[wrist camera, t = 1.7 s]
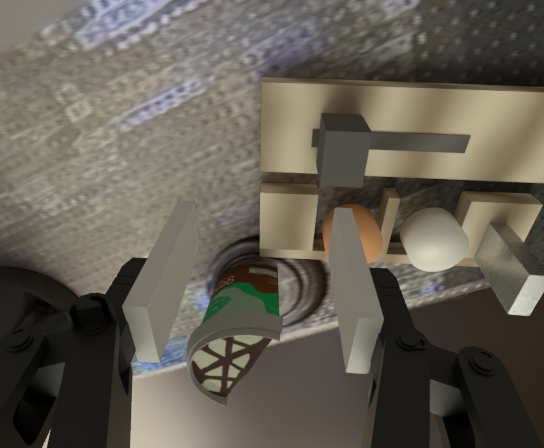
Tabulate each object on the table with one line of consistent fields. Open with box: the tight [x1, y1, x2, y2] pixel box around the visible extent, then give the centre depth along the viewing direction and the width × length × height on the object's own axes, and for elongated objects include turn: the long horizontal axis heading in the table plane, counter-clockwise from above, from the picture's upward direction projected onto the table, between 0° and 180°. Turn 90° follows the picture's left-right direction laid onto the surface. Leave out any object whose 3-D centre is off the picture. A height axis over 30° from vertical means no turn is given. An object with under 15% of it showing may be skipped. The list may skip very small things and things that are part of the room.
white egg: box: [400, 207, 469, 272], centre depth 30 cm, size 5×5×3 cm
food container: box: [187, 264, 283, 406], centre depth 35 cm, size 12×6×10 cm, turn 153°
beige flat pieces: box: [260, 77, 544, 267], centre depth 30 cm, size 24×16×2 cm, turn 88°
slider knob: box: [316, 113, 372, 188], centre depth 26 cm, size 3×4×4 cm
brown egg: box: [322, 204, 383, 264], centre depth 31 cm, size 5×5×3 cm
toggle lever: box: [474, 223, 544, 316], centre depth 29 cm, size 2×4×7 cm, turn 178°
